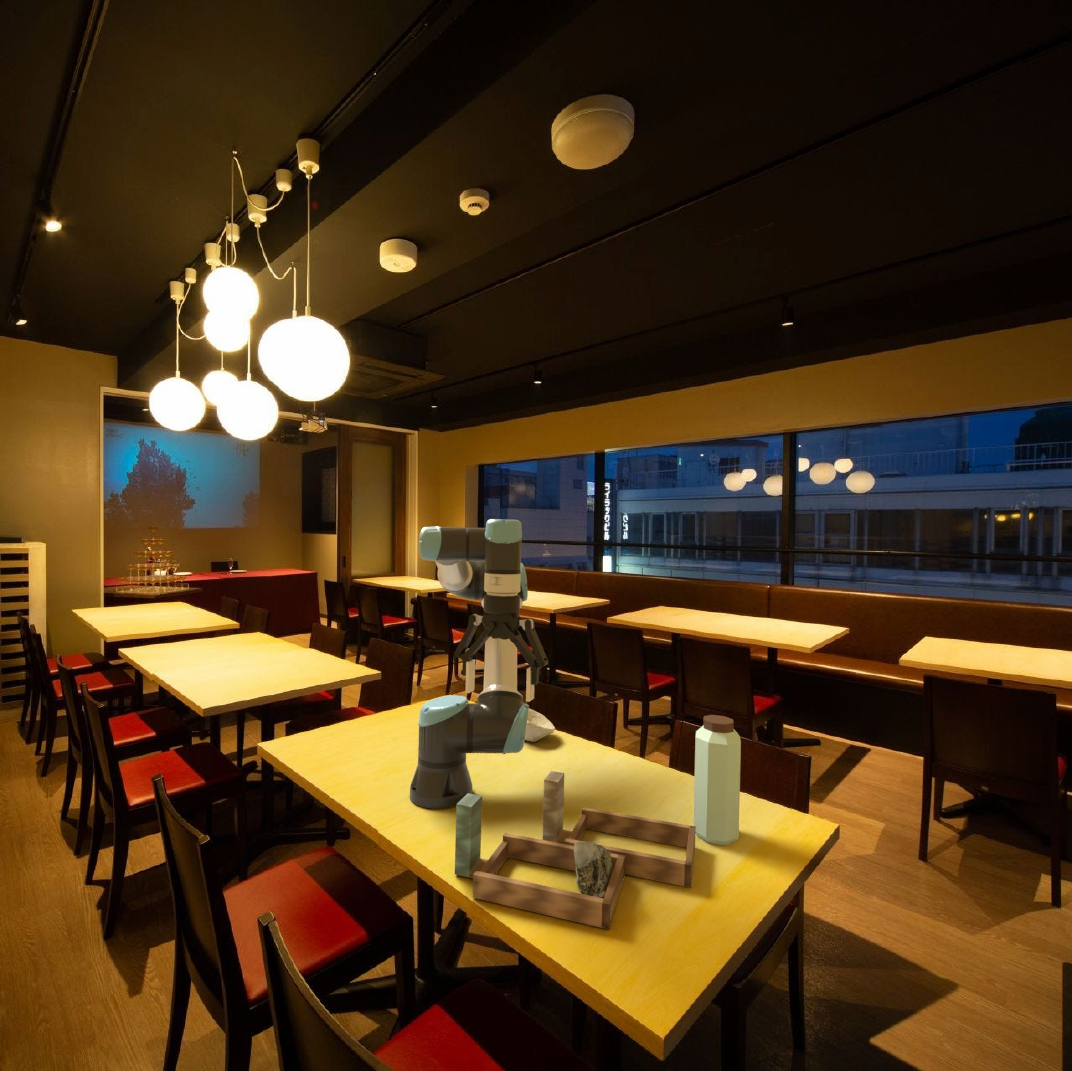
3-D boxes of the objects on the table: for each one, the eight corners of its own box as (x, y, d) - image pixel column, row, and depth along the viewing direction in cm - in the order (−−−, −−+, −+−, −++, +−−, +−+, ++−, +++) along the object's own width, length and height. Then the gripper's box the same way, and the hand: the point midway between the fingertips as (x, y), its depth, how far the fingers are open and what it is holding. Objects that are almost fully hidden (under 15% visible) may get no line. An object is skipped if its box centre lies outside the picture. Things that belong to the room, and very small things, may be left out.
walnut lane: (441, 890, 102) (443, 816, 103) (476, 847, 117) (478, 782, 117) (608, 929, 93) (610, 848, 93) (624, 877, 108) (626, 807, 108)
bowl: (555, 749, 174) (556, 716, 174) (509, 747, 174) (510, 714, 175) (554, 732, 189) (555, 702, 189) (511, 731, 189) (512, 700, 190)
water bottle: (685, 824, 130) (687, 712, 130) (728, 823, 130) (730, 712, 131) (701, 847, 120) (704, 726, 120) (748, 847, 120) (751, 726, 121)
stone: (621, 844, 101) (573, 824, 107) (596, 902, 95) (547, 878, 101) (636, 870, 106) (589, 850, 112) (613, 927, 100) (565, 902, 106)
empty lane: (534, 855, 114) (536, 789, 115) (556, 820, 129) (557, 762, 129) (691, 887, 105) (692, 815, 105) (695, 845, 120) (696, 782, 120)
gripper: (439, 591, 120) (437, 692, 121) (553, 599, 112) (550, 708, 112) (456, 588, 127) (454, 683, 128) (565, 595, 119) (562, 698, 119)
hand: (499, 695), depth 120 cm, fingers open, 13 cm apart
